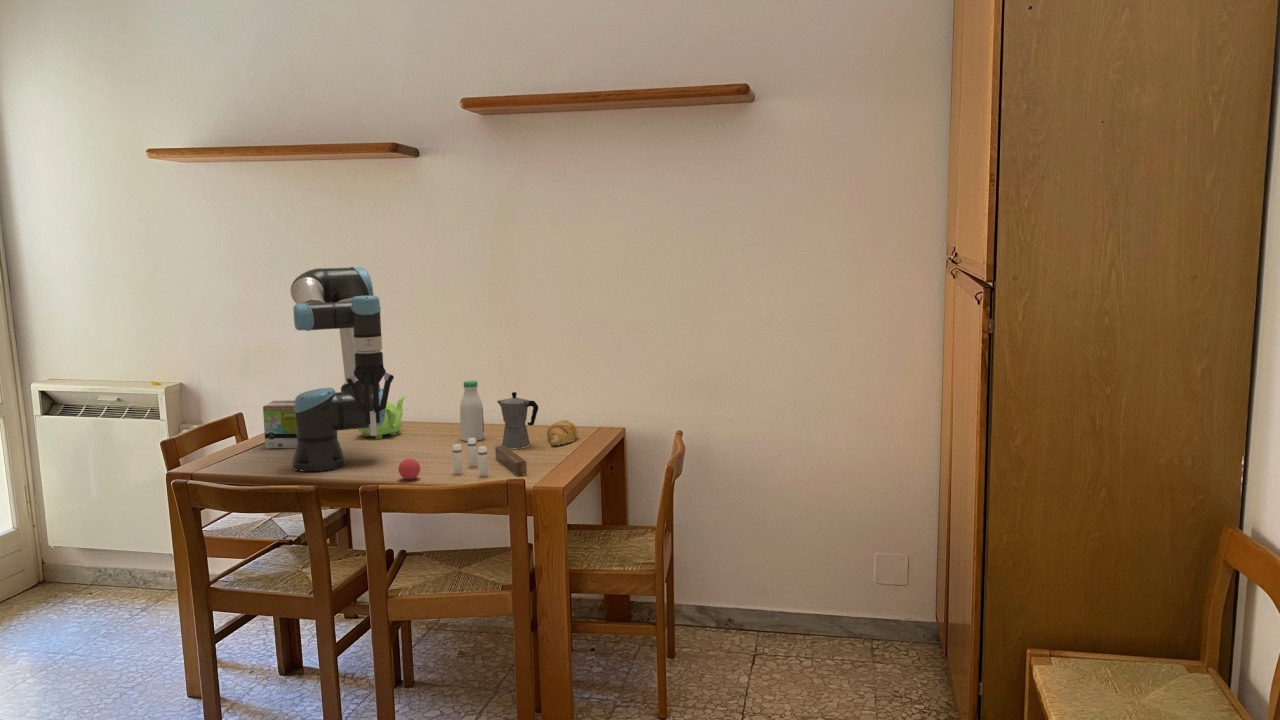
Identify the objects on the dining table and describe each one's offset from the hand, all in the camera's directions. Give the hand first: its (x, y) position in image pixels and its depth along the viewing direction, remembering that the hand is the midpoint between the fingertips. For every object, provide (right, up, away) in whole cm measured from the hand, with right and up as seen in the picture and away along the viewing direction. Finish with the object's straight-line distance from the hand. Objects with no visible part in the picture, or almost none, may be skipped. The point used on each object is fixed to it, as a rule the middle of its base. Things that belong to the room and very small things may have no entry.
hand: (373, 434), depth 261 cm
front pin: (+21, -12, +12) cm, 27 cm away
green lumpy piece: (-15, -5, +64) cm, 66 cm away
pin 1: (+24, -11, +20) cm, 33 cm away
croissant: (+48, -6, +52) cm, 71 cm away
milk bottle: (+18, -6, +55) cm, 58 cm away
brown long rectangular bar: (+36, -11, +19) cm, 42 cm away
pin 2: (+29, -13, +9) cm, 33 cm away
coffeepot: (+35, -8, +44) cm, 57 cm away
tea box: (-41, -8, +50) cm, 65 cm away
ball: (+9, -10, +6) cm, 15 cm away
